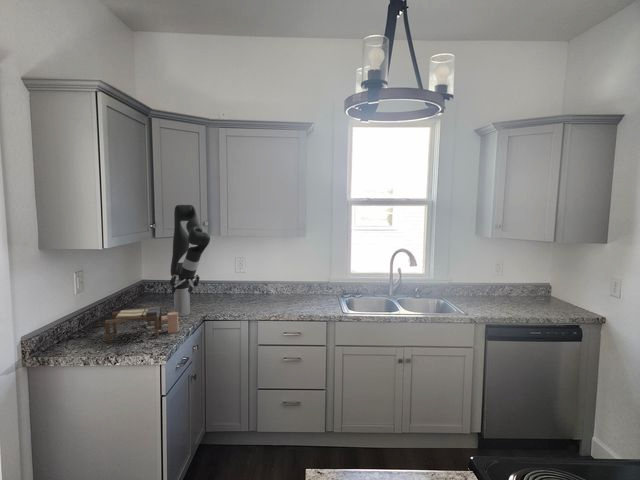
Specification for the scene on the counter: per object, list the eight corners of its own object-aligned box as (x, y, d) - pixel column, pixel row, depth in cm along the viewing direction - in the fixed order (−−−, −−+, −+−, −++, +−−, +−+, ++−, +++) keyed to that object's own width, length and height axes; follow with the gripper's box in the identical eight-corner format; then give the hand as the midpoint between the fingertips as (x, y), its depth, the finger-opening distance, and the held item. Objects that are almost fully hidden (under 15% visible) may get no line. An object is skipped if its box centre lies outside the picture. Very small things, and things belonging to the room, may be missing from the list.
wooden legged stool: (114, 332, 198) (113, 311, 197) (161, 328, 205) (161, 308, 204) (106, 343, 181) (104, 320, 180) (158, 338, 189) (157, 316, 188)
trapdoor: (121, 316, 196) (121, 308, 196) (160, 313, 202) (159, 306, 202) (116, 324, 184) (115, 315, 183) (157, 320, 189) (156, 312, 189)
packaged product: (176, 312, 221) (180, 316, 213) (176, 320, 222) (180, 324, 213) (144, 317, 211) (146, 321, 203) (144, 325, 212) (147, 329, 203)
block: (168, 330, 201) (168, 312, 200) (178, 329, 203) (177, 311, 202) (167, 333, 196) (167, 315, 196) (177, 332, 198) (177, 314, 197)
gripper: (200, 263, 197) (191, 288, 202) (174, 261, 187) (165, 287, 192) (205, 270, 192) (196, 296, 196) (178, 269, 182) (169, 296, 187)
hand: (181, 292), depth 194 cm, fingers open, 8 cm apart
